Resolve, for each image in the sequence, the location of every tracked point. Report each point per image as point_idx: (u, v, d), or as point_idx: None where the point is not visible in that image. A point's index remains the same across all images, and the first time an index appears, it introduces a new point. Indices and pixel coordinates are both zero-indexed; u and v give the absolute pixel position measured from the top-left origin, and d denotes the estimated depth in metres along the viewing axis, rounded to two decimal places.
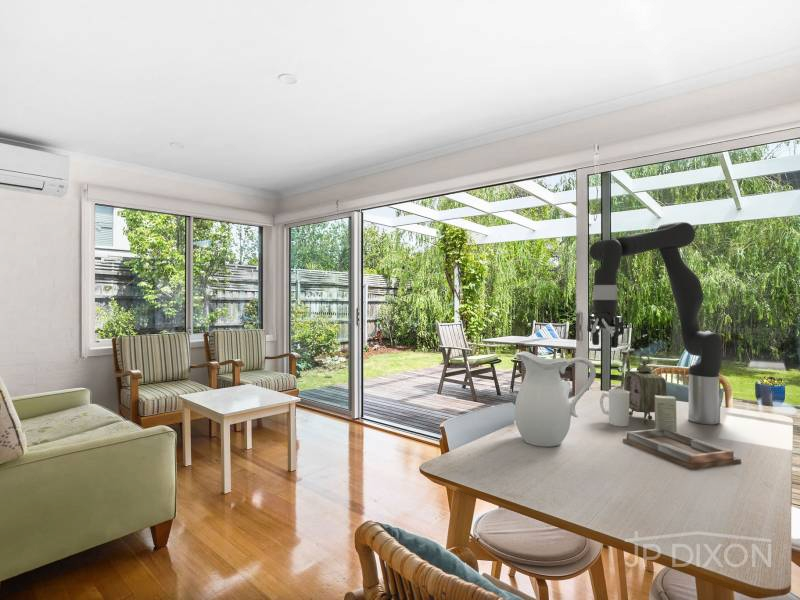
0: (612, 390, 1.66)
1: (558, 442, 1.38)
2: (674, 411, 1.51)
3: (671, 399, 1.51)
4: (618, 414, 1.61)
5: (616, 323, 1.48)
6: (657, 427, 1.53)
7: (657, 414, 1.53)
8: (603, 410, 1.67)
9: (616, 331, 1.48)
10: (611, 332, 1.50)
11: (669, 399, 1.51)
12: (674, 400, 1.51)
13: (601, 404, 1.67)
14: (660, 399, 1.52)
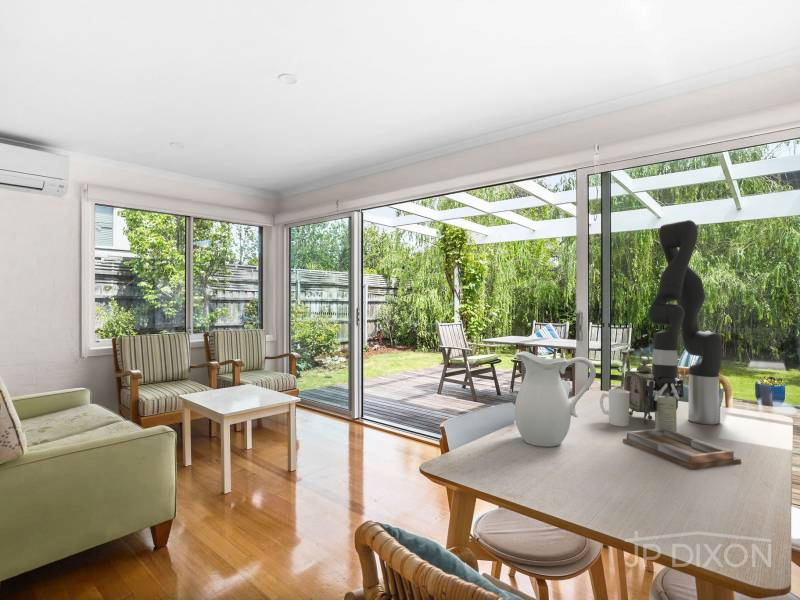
0: (612, 390, 1.66)
1: (558, 442, 1.38)
2: (674, 411, 1.51)
3: (671, 399, 1.51)
4: (618, 414, 1.61)
5: (682, 386, 1.54)
6: (657, 427, 1.53)
7: (657, 414, 1.53)
8: (603, 410, 1.67)
9: (682, 394, 1.54)
10: (677, 395, 1.54)
11: (669, 399, 1.51)
12: (674, 400, 1.51)
13: (601, 404, 1.67)
14: (660, 399, 1.52)
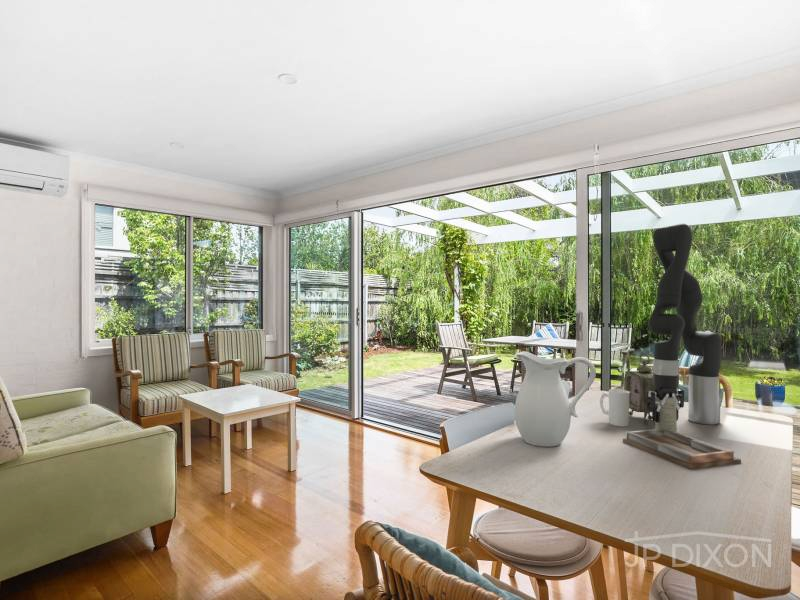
0: (612, 390, 1.66)
1: (558, 442, 1.38)
2: (674, 411, 1.51)
3: (671, 399, 1.51)
4: (618, 414, 1.61)
5: (683, 396, 1.54)
6: (657, 427, 1.53)
7: None
8: (603, 410, 1.67)
9: (682, 404, 1.54)
10: (677, 406, 1.54)
11: (669, 399, 1.51)
12: (674, 400, 1.51)
13: (601, 404, 1.67)
14: None
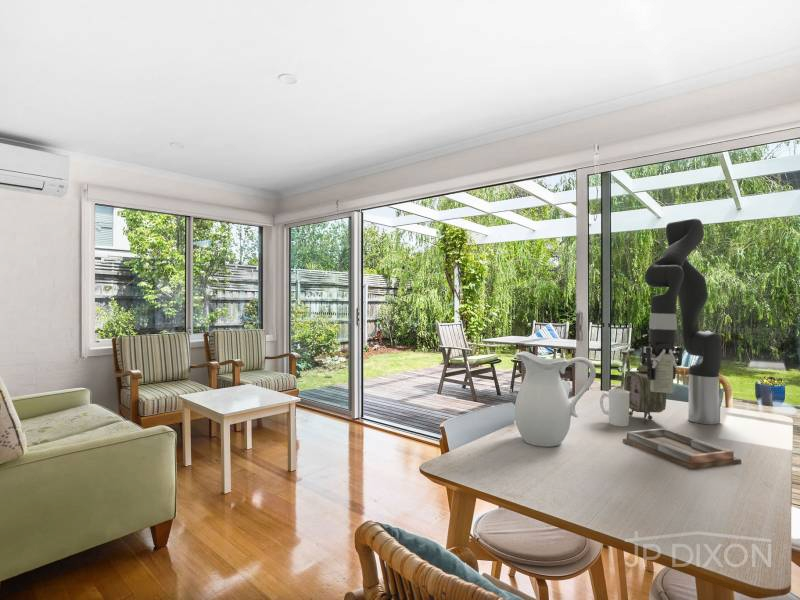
0: (612, 390, 1.66)
1: (558, 442, 1.38)
2: (671, 368, 1.41)
3: (668, 355, 1.42)
4: (618, 414, 1.61)
5: (681, 354, 1.45)
6: (652, 385, 1.44)
7: None
8: (603, 410, 1.67)
9: (680, 362, 1.45)
10: (674, 364, 1.44)
11: (666, 355, 1.42)
12: (671, 356, 1.41)
13: (601, 404, 1.67)
14: None
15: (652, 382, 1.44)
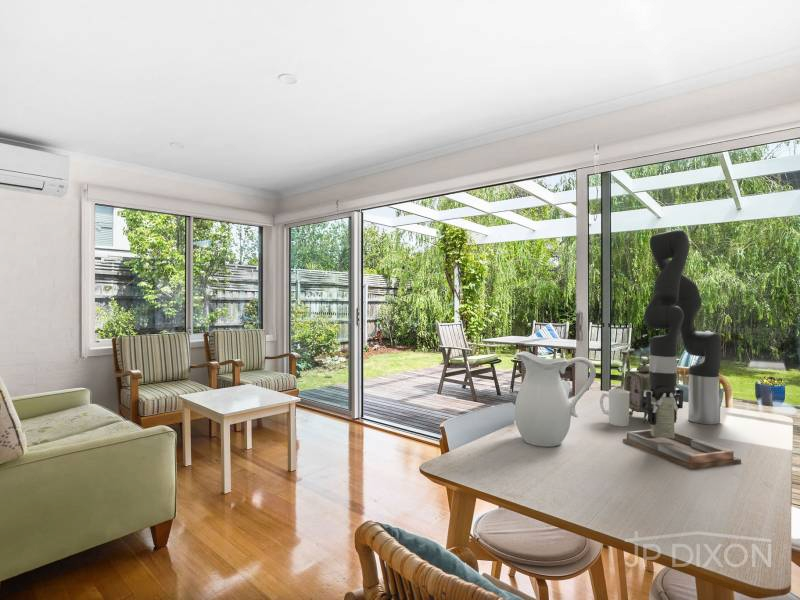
0: (612, 390, 1.66)
1: (558, 442, 1.38)
2: (672, 412, 1.37)
3: (668, 399, 1.38)
4: (618, 414, 1.61)
5: (681, 396, 1.41)
6: (653, 430, 1.39)
7: None
8: (603, 410, 1.67)
9: (681, 405, 1.41)
10: (675, 407, 1.40)
11: (666, 399, 1.38)
12: (672, 400, 1.37)
13: (601, 404, 1.67)
14: None
15: (653, 426, 1.39)
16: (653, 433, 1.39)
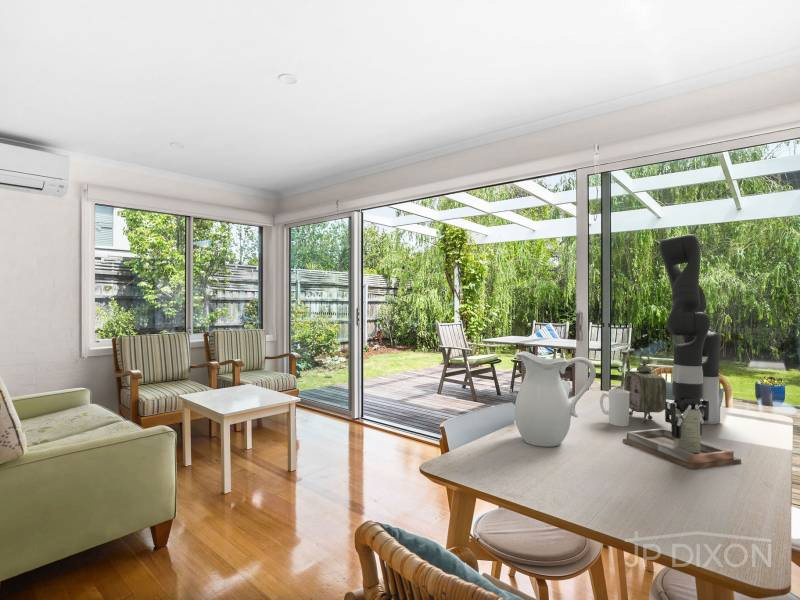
0: (612, 390, 1.66)
1: (558, 442, 1.38)
2: (697, 425, 1.29)
3: (694, 411, 1.29)
4: (618, 414, 1.61)
5: (707, 408, 1.32)
6: (677, 444, 1.31)
7: None
8: (603, 410, 1.67)
9: (707, 417, 1.32)
10: (701, 419, 1.32)
11: (692, 411, 1.30)
12: (697, 412, 1.29)
13: (601, 404, 1.67)
14: None
15: (677, 440, 1.31)
16: (677, 447, 1.31)
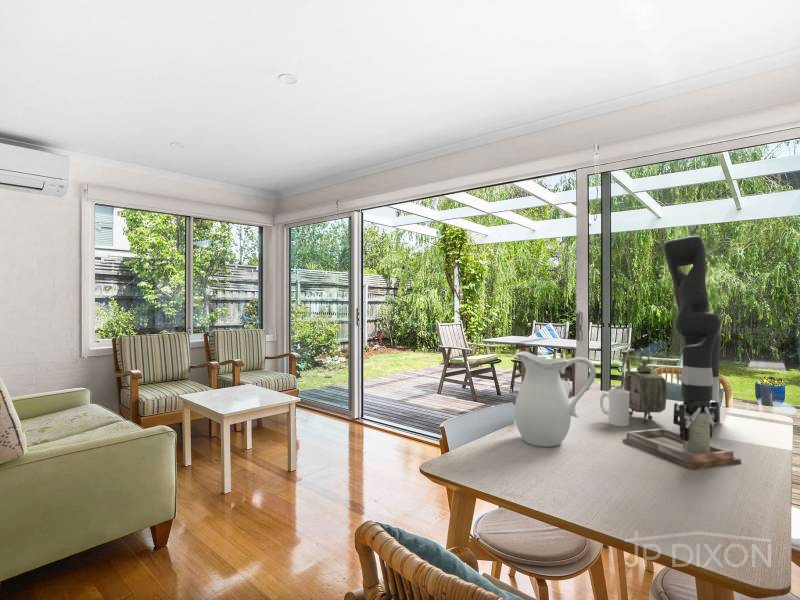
0: (612, 390, 1.66)
1: (558, 442, 1.38)
2: (707, 429, 1.26)
3: (703, 415, 1.27)
4: (618, 414, 1.61)
5: (717, 409, 1.30)
6: (686, 448, 1.28)
7: None
8: (603, 410, 1.67)
9: (717, 418, 1.30)
10: (711, 421, 1.29)
11: (701, 415, 1.27)
12: (707, 416, 1.26)
13: (601, 404, 1.67)
14: None
15: (686, 445, 1.28)
16: None
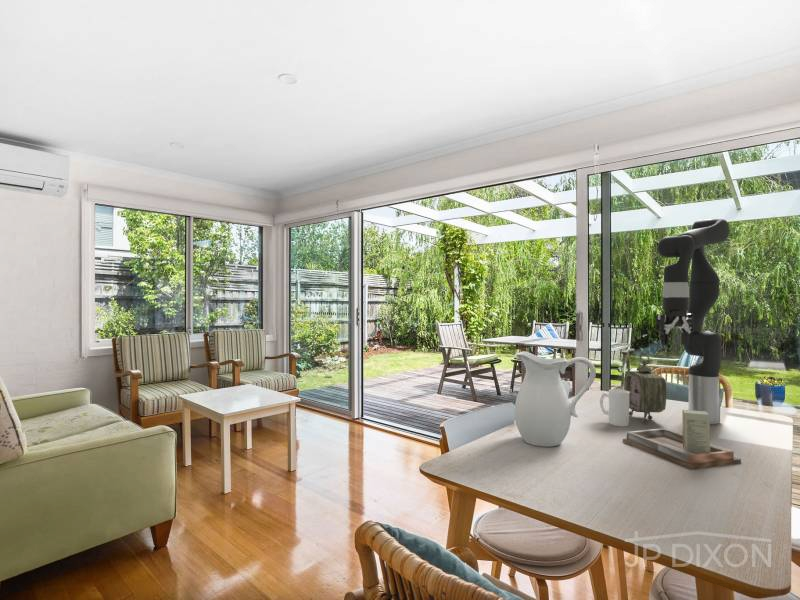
0: (612, 390, 1.66)
1: (558, 442, 1.38)
2: (707, 429, 1.26)
3: (703, 415, 1.27)
4: (618, 414, 1.61)
5: (693, 320, 1.51)
6: (686, 448, 1.28)
7: (686, 433, 1.28)
8: (603, 410, 1.67)
9: (693, 328, 1.51)
10: (688, 329, 1.51)
11: (701, 415, 1.27)
12: (707, 416, 1.26)
13: (601, 404, 1.67)
14: (690, 415, 1.28)
15: (686, 445, 1.28)
16: None
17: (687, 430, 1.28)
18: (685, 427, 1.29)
